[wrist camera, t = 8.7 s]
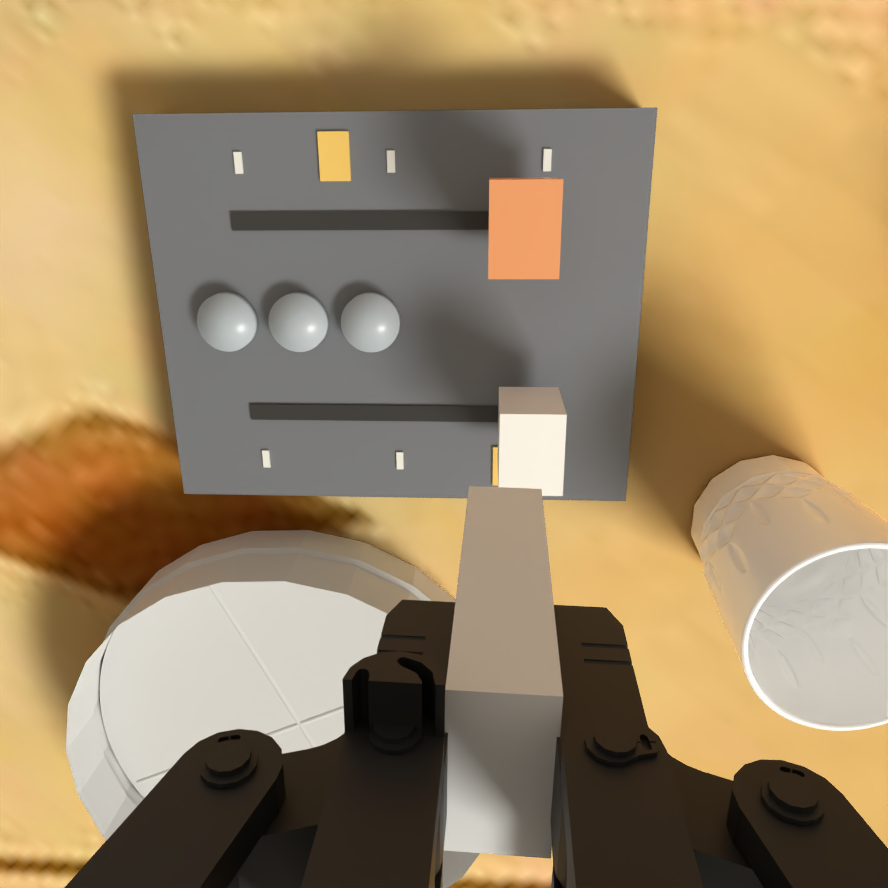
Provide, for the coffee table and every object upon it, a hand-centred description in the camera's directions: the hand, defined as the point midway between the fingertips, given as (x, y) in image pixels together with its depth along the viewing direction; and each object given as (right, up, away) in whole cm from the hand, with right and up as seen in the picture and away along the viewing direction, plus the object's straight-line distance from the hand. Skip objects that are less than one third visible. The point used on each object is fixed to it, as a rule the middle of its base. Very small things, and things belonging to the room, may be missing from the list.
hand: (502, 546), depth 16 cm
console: (-3, +8, +18) cm, 20 cm away
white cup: (+14, -1, +21) cm, 25 cm away
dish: (-9, -12, +26) cm, 30 cm away
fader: (+2, +11, +14) cm, 18 cm away
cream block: (+2, +3, +16) cm, 17 cm away
